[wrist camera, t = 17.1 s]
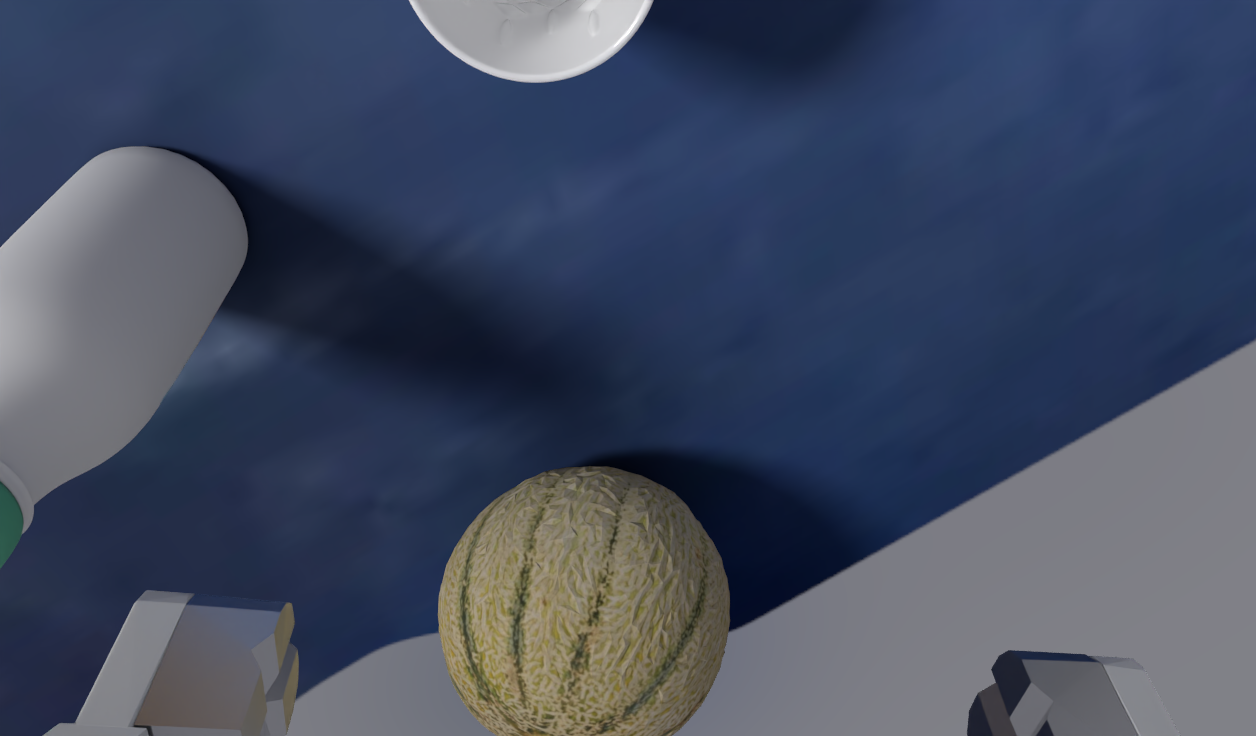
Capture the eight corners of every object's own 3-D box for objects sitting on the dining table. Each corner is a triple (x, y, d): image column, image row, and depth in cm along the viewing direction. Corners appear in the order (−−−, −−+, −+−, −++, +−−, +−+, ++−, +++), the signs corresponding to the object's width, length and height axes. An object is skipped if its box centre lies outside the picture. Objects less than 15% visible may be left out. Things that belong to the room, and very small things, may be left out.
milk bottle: (69, 120, 42) (-270, 417, 25) (256, 163, 43) (47, 471, 27) (79, 273, 46) (-205, 608, 30) (248, 307, 47) (65, 646, 31)
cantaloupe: (754, 441, 53) (798, 674, 41) (670, 613, 61) (686, 850, 49) (485, 382, 50) (448, 613, 38) (435, 571, 58) (391, 810, 46)
